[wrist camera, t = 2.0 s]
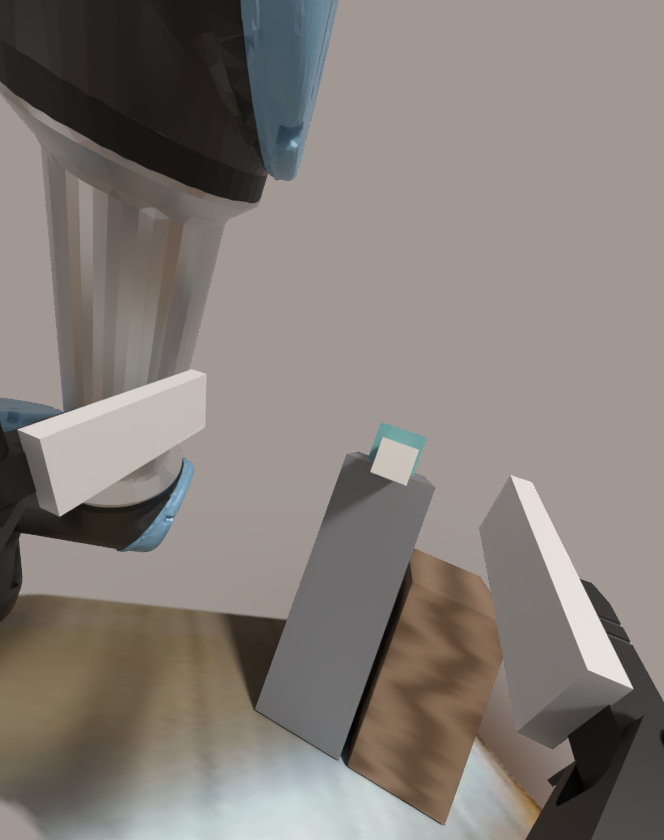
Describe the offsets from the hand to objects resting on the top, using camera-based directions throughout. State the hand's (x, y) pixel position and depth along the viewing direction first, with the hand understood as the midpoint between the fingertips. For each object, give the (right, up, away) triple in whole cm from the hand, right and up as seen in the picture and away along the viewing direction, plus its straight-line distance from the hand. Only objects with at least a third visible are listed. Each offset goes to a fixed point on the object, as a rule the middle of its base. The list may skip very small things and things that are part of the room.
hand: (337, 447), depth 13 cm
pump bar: (+6, -4, +21) cm, 23 cm away
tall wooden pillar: (+7, -37, +24) cm, 44 cm away
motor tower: (-3, -33, +26) cm, 42 cm away
